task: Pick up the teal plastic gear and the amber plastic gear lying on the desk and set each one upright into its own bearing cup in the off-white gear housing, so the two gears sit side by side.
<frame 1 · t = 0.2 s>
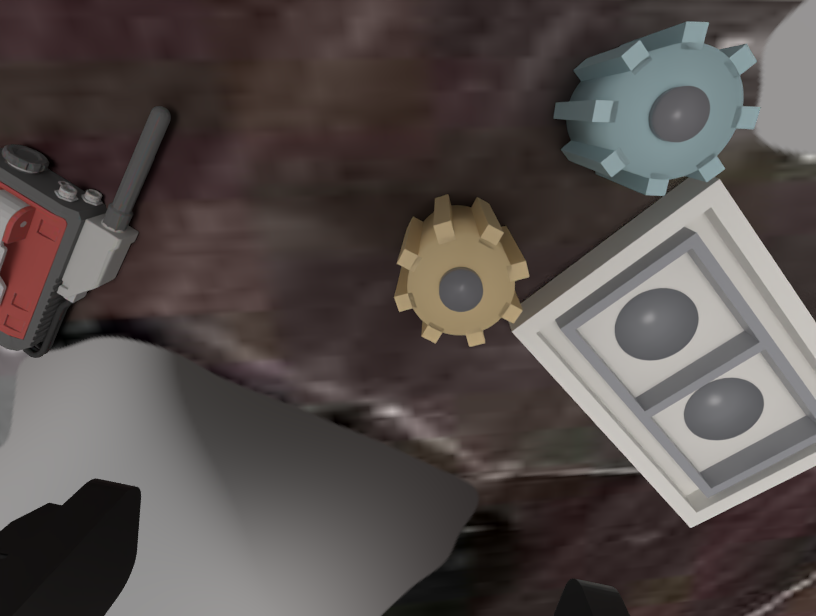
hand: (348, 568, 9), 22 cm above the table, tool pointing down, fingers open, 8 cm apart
amber gear: (456, 246, 28), on the table
teal gear: (614, 113, 25), on the table
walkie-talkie: (70, 216, 30), on the table
gear housing: (682, 360, 30), on the table
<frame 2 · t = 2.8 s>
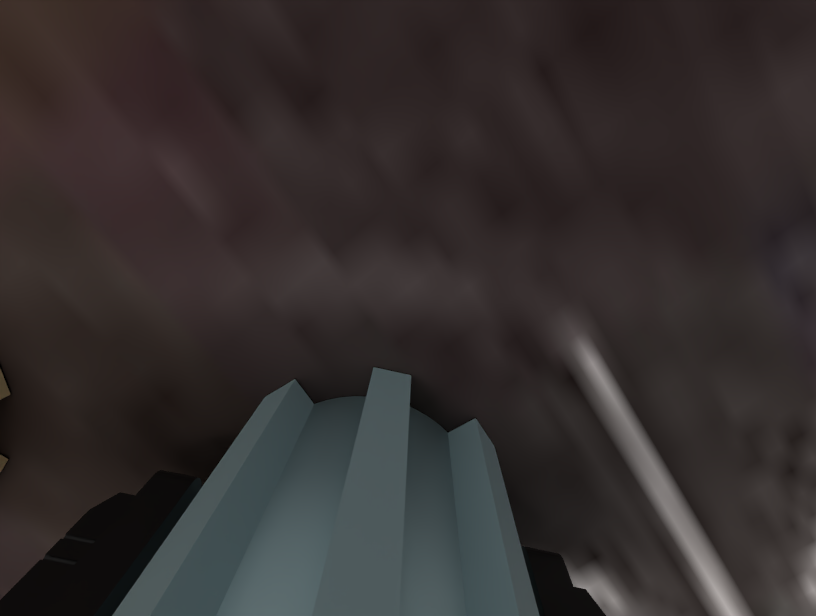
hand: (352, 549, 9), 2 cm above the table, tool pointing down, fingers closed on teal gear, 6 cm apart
teal gear: (363, 496, 11), on the table, touching gripper
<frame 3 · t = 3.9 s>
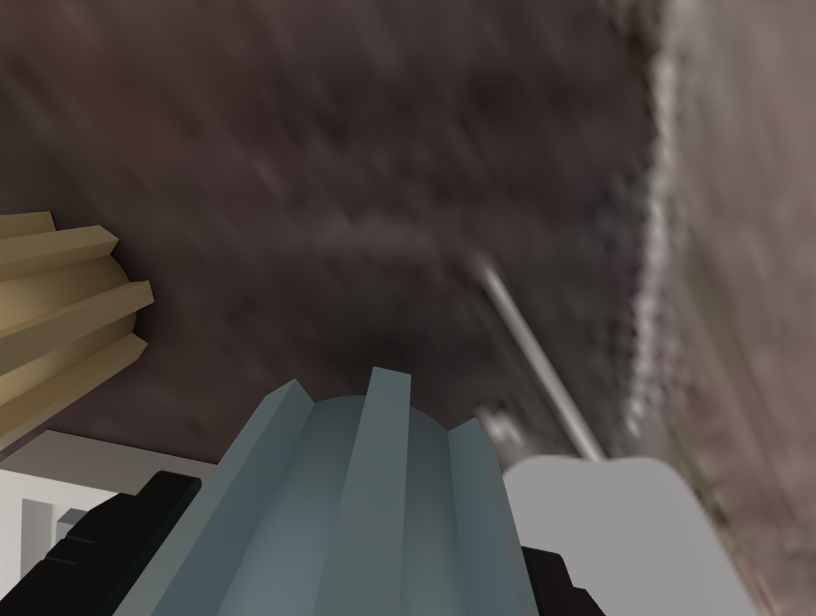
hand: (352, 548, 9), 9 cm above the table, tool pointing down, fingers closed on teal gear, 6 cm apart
amber gear: (66, 300, 17), on the table
teal gear: (363, 495, 11), point 7 cm above the table, touching gripper
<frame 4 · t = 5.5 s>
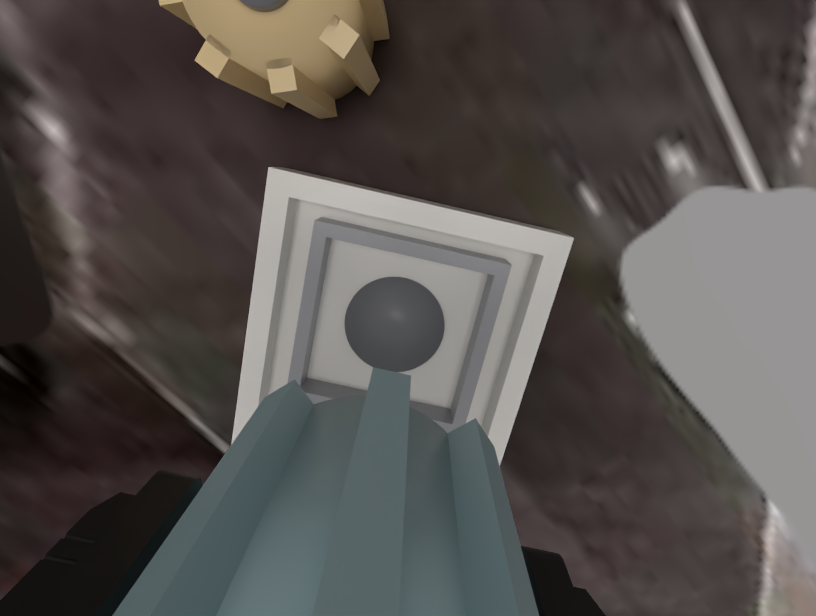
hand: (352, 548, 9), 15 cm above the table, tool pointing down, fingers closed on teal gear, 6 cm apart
amber gear: (315, 39, 20), on the table
teal gear: (362, 496, 11), point 13 cm above the table, touching gripper
gear housing: (379, 389, 25), on the table
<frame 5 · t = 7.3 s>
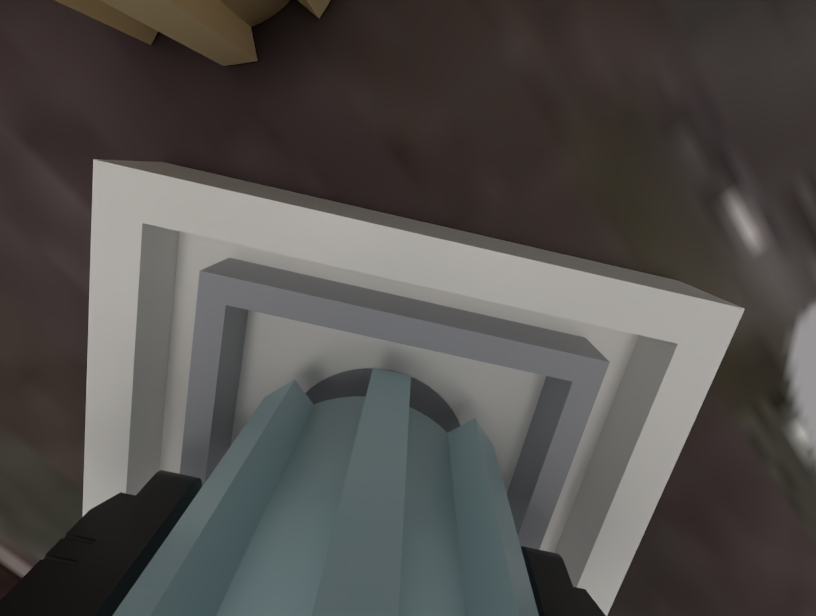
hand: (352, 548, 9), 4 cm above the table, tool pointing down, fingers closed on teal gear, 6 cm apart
teal gear: (362, 496, 11), point 3 cm above the table, touching gripper
gear housing: (350, 545, 14), on the table
when the fingers open (4 cm above the table, at t = 7.9 s): teal gear drops 1 cm, resting on gear housing.
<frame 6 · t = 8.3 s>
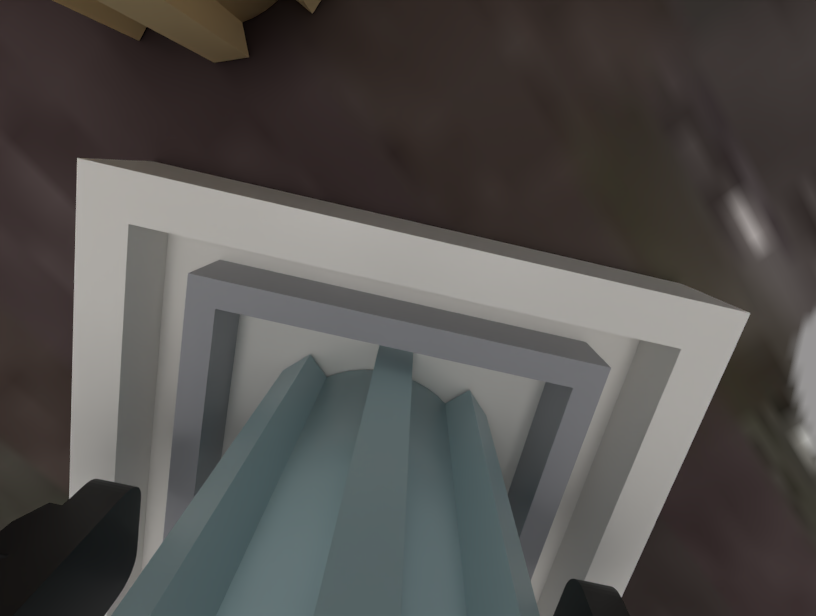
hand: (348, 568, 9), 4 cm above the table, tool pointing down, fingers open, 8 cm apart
teal gear: (369, 461, 12), point 1 cm above the table, touching gear housing
gear housing: (345, 553, 14), on the table
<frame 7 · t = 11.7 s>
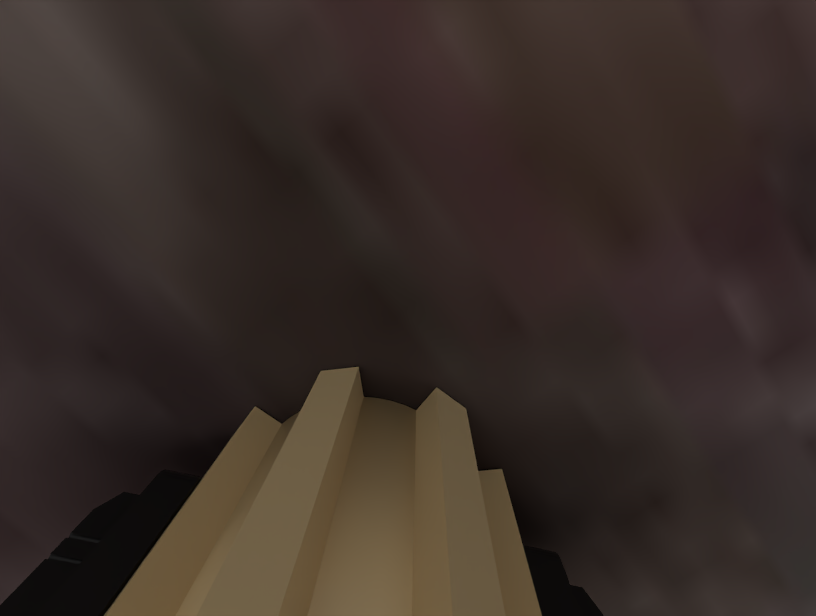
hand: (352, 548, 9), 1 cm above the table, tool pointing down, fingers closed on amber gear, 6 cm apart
amber gear: (362, 497, 11), on the table, touching gripper
when the fingers open (4 cm above the table, at t = 17.4 s): amber gear drops 1 cm, resting on gear housing.
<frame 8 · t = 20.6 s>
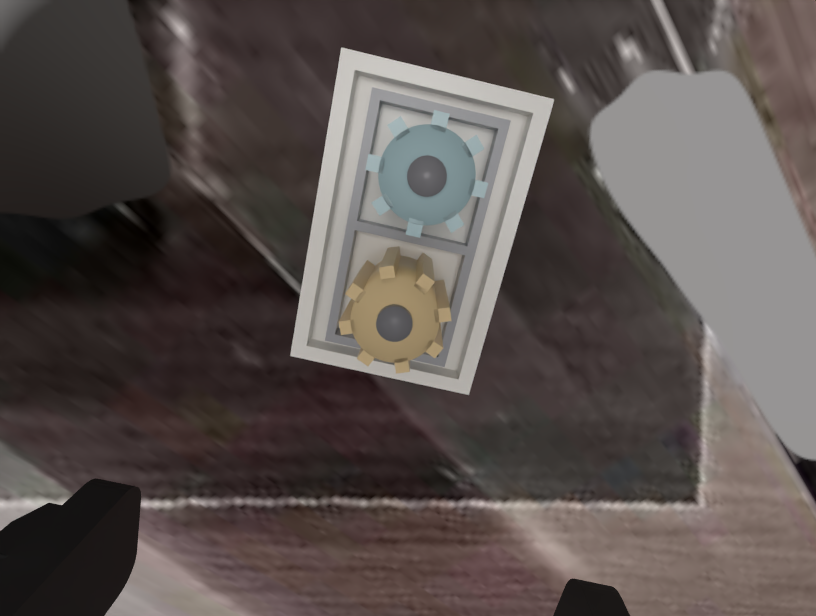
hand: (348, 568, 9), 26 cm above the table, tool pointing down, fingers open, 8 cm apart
amber gear: (400, 291, 33), point 1 cm above the table, touching gear housing
teal gear: (425, 175, 31), point 1 cm above the table, touching gear housing
gear housing: (412, 233, 33), on the table
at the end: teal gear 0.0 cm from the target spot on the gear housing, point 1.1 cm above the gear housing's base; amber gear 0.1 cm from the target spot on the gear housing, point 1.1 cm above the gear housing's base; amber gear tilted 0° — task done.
